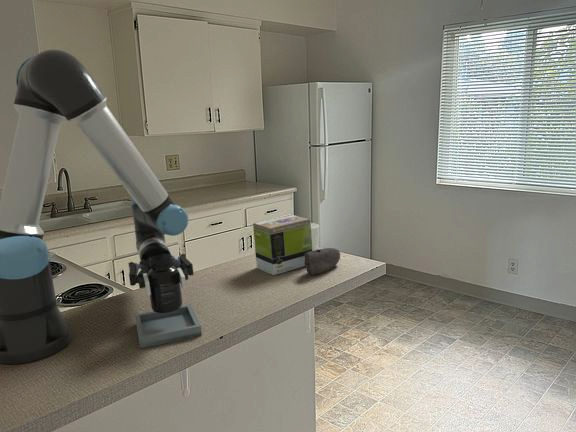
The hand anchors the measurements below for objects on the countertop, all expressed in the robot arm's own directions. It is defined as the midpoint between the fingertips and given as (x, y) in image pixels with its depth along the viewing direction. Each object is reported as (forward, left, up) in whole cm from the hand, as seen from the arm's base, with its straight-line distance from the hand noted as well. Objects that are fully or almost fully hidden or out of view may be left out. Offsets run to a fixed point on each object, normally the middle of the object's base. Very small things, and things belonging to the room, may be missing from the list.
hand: (166, 285), depth 100 cm
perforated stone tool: (+48, +24, -13) cm, 55 cm away
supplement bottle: (0, +5, -7) cm, 9 cm away
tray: (0, +5, -12) cm, 13 cm away
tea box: (+39, +33, -12) cm, 52 cm away
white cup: (+50, +40, -12) cm, 65 cm away
